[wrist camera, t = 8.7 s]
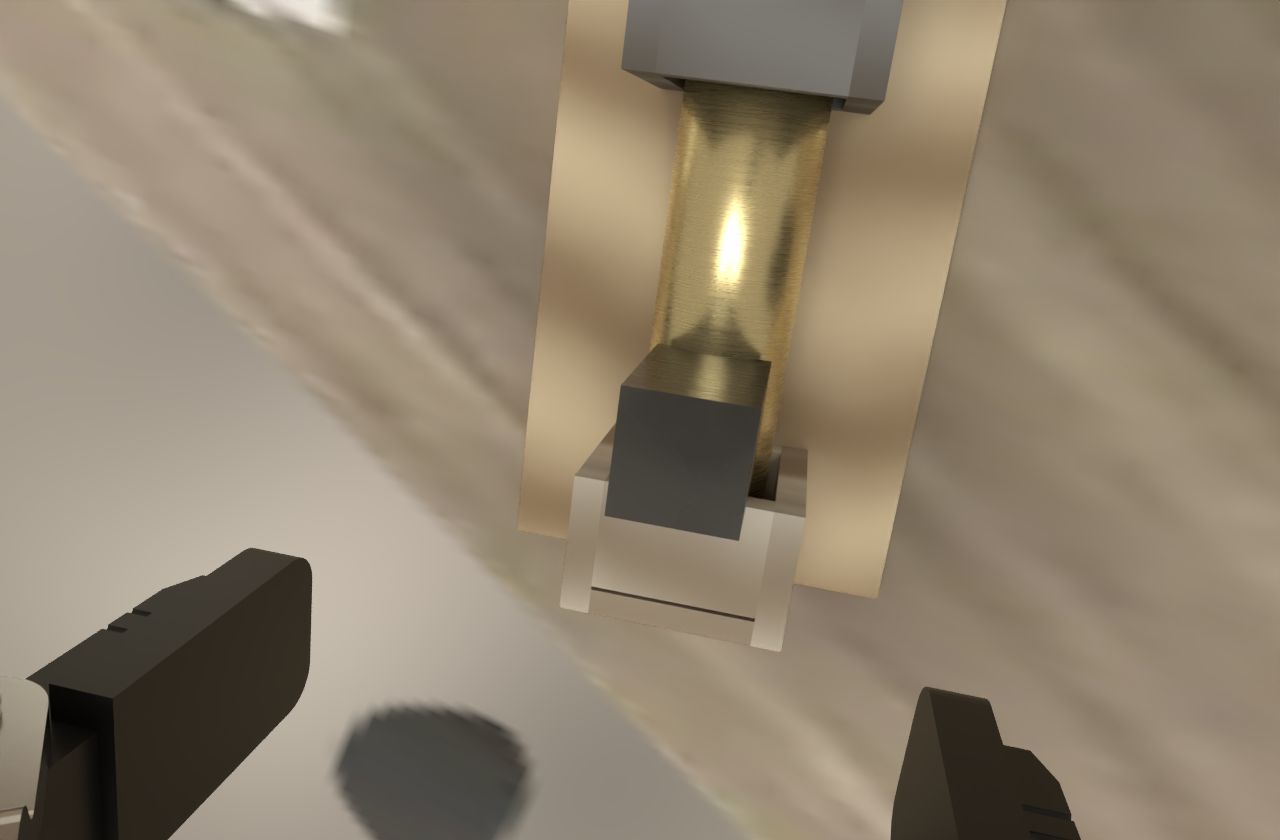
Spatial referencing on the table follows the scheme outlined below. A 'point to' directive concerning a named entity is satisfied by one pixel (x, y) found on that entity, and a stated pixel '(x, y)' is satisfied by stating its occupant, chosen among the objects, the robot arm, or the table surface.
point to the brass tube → (720, 310)
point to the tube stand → (827, 305)
